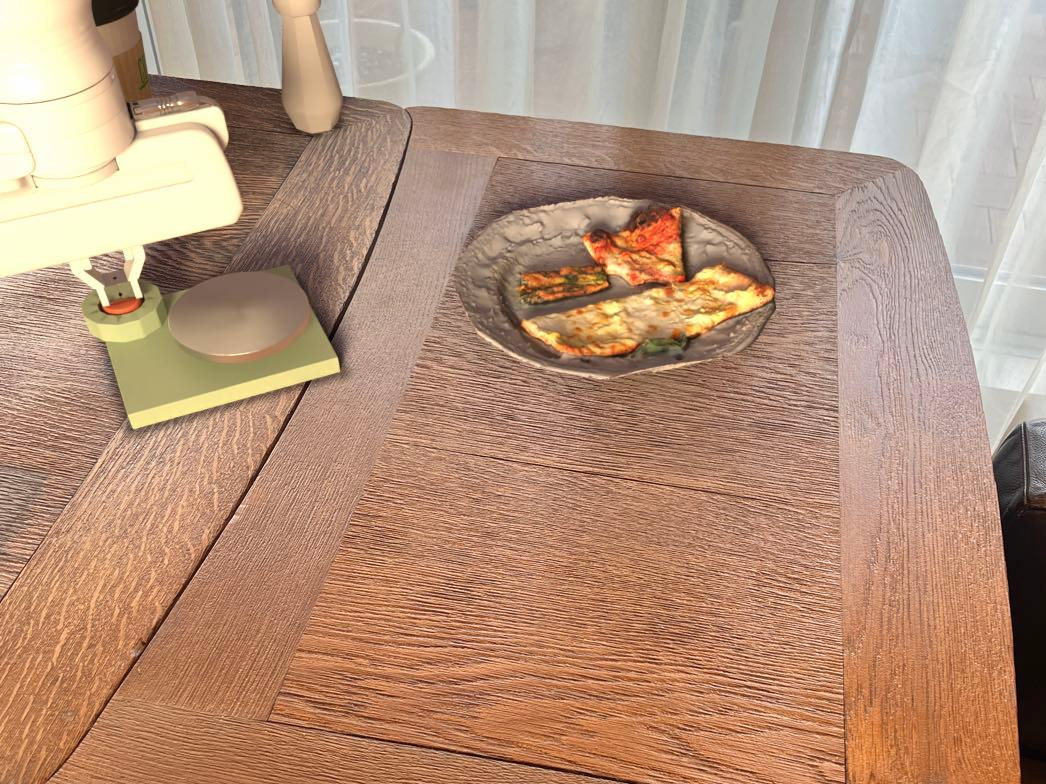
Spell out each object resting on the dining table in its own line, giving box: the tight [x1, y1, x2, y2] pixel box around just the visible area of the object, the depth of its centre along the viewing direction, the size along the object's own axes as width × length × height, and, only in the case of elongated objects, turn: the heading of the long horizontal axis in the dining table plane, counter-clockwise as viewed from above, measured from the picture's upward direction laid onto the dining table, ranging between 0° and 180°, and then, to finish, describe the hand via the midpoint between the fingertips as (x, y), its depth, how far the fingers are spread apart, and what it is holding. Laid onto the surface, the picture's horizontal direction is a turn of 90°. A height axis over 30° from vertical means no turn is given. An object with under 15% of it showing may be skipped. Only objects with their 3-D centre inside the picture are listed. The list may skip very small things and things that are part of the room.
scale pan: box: [168, 271, 311, 364], centre depth 75 cm, size 10×10×1 cm
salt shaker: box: [271, 0, 344, 135], centre depth 96 cm, size 6×6×13 cm
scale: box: [80, 264, 341, 430], centre depth 77 cm, size 16×14×3 cm
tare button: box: [101, 298, 143, 316], centre depth 77 cm, size 3×3×2 cm
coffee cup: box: [91, 0, 153, 120], centre depth 91 cm, size 10×10×15 cm
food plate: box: [453, 195, 777, 381], centre depth 80 cm, size 25×23×4 cm
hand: (122, 298), depth 76 cm, fingers closed, pressing on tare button
